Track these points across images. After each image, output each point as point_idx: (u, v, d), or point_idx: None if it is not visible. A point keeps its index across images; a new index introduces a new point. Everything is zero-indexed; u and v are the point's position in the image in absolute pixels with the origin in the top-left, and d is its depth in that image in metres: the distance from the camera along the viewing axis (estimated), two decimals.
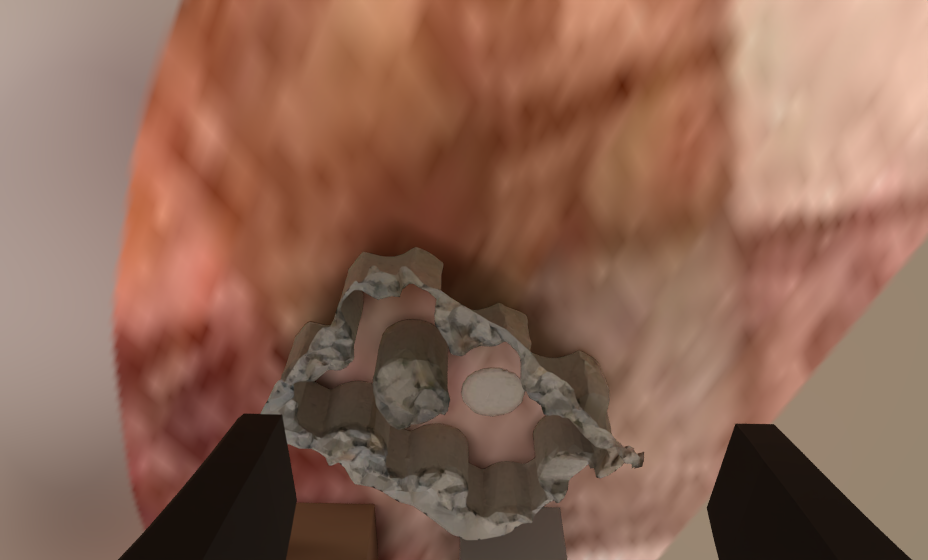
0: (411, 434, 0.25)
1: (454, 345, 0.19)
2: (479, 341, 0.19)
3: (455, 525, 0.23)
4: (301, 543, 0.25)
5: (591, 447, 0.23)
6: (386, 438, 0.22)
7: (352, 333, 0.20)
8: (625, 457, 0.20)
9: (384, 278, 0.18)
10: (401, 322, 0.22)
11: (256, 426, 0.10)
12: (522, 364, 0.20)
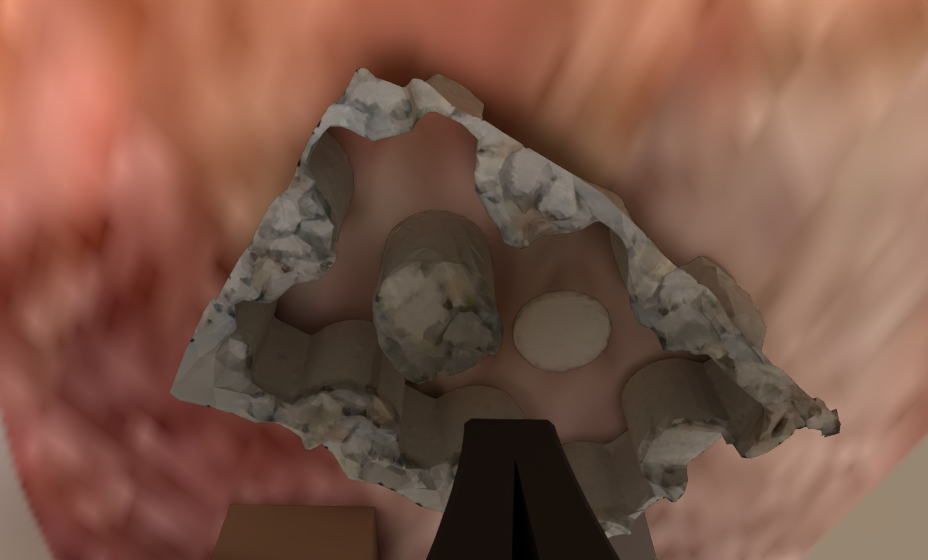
0: (437, 404, 0.16)
1: (511, 226, 0.11)
2: (554, 218, 0.11)
3: None
4: None
5: (724, 411, 0.14)
6: (398, 405, 0.14)
7: (332, 213, 0.11)
8: (811, 417, 0.12)
9: (383, 96, 0.10)
10: (416, 215, 0.14)
11: (492, 431, 0.10)
12: (630, 257, 0.11)
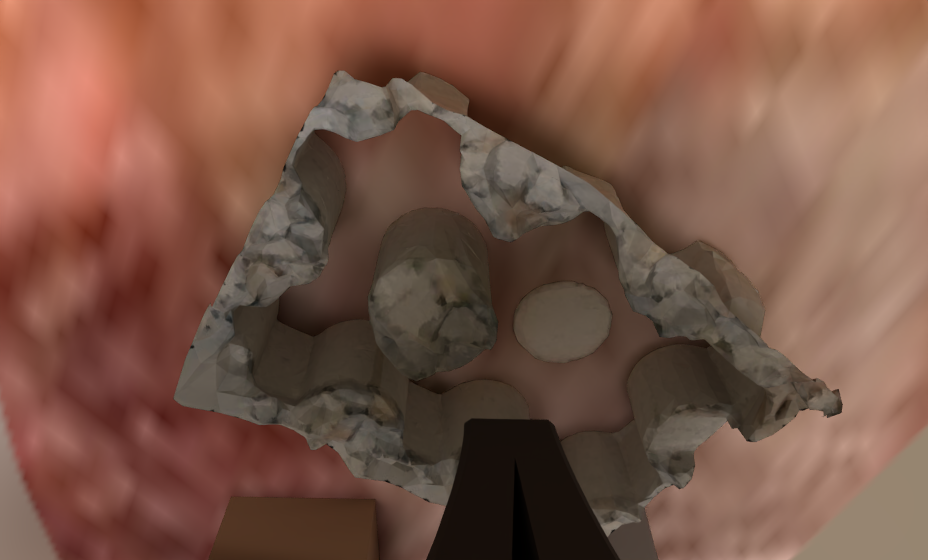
0: (442, 400, 0.16)
1: (499, 220, 0.11)
2: (542, 210, 0.11)
3: None
4: (266, 557, 0.17)
5: (729, 396, 0.14)
6: (401, 403, 0.14)
7: (322, 215, 0.11)
8: (812, 398, 0.12)
9: (363, 97, 0.10)
10: (409, 213, 0.14)
11: (492, 431, 0.10)
12: (620, 245, 0.11)
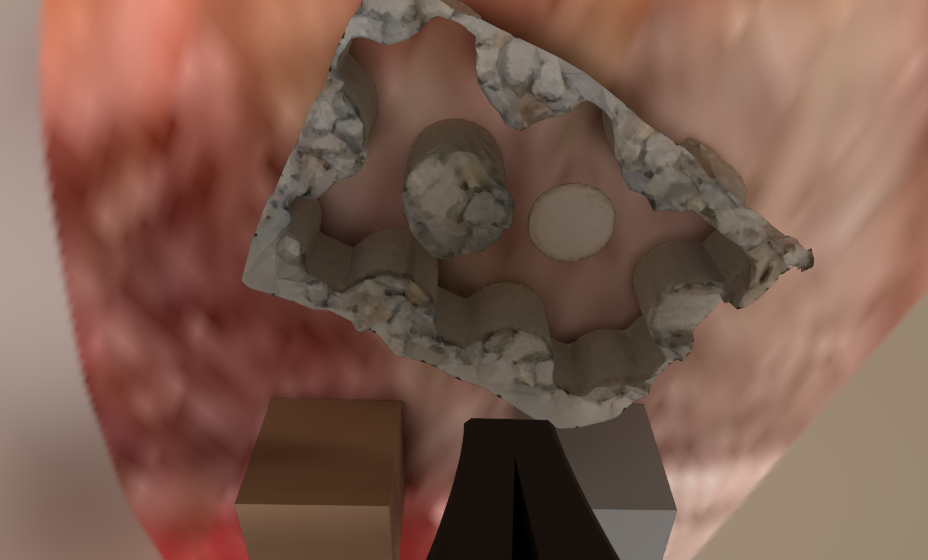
0: (468, 301, 0.18)
1: (510, 110, 0.13)
2: (547, 99, 0.13)
3: (542, 407, 0.17)
4: (306, 444, 0.19)
5: (721, 276, 0.16)
6: (433, 293, 0.16)
7: (360, 115, 0.13)
8: (786, 253, 0.13)
9: (393, 5, 0.12)
10: (433, 124, 0.16)
11: (492, 431, 0.10)
12: (615, 127, 0.13)
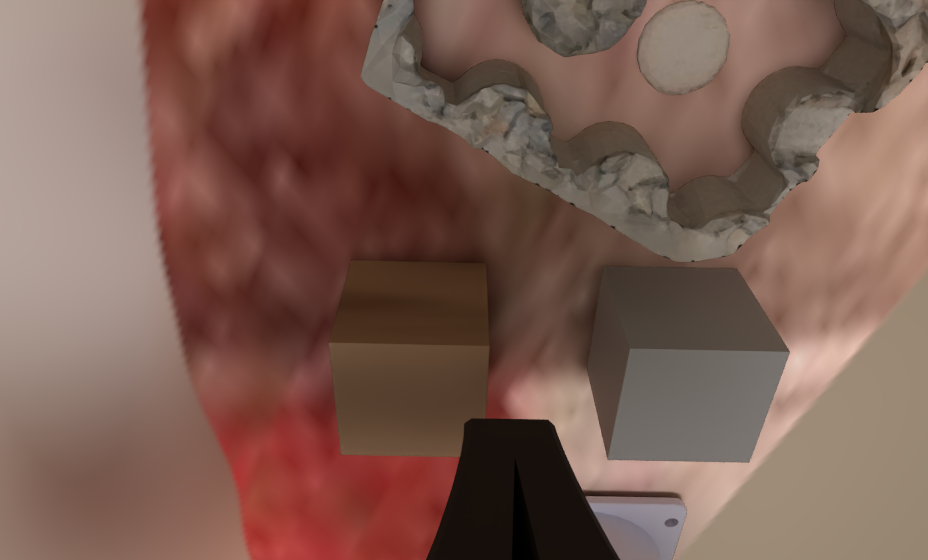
0: (570, 144, 0.18)
1: None
2: None
3: (658, 238, 0.16)
4: (394, 296, 0.18)
5: (848, 88, 0.15)
6: None
7: None
8: None
9: None
10: None
11: (492, 431, 0.10)
12: None
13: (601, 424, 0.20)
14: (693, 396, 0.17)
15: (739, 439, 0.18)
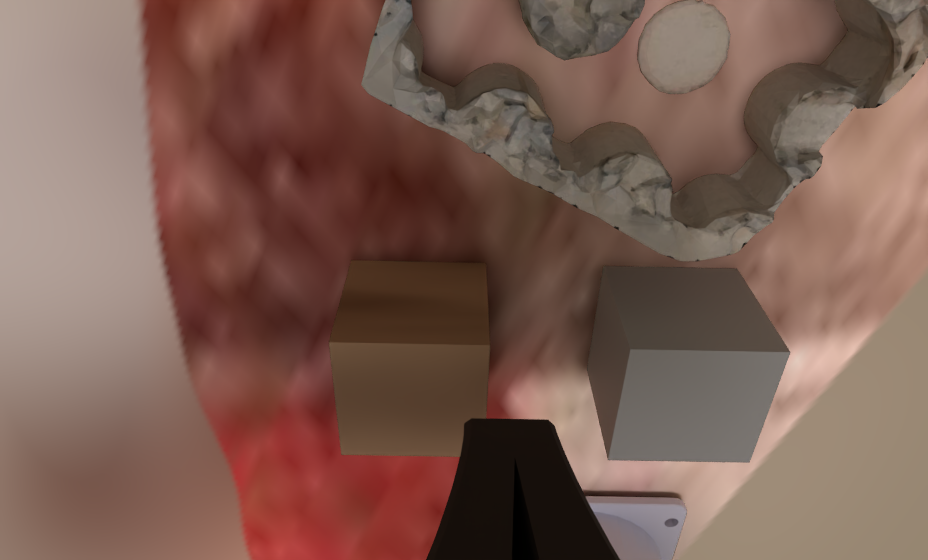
0: (572, 145, 0.18)
1: None
2: None
3: (662, 238, 0.16)
4: (394, 296, 0.18)
5: (850, 84, 0.15)
6: None
7: None
8: None
9: None
10: None
11: (492, 431, 0.10)
12: None
13: (601, 424, 0.20)
14: (694, 396, 0.17)
15: (739, 439, 0.18)
